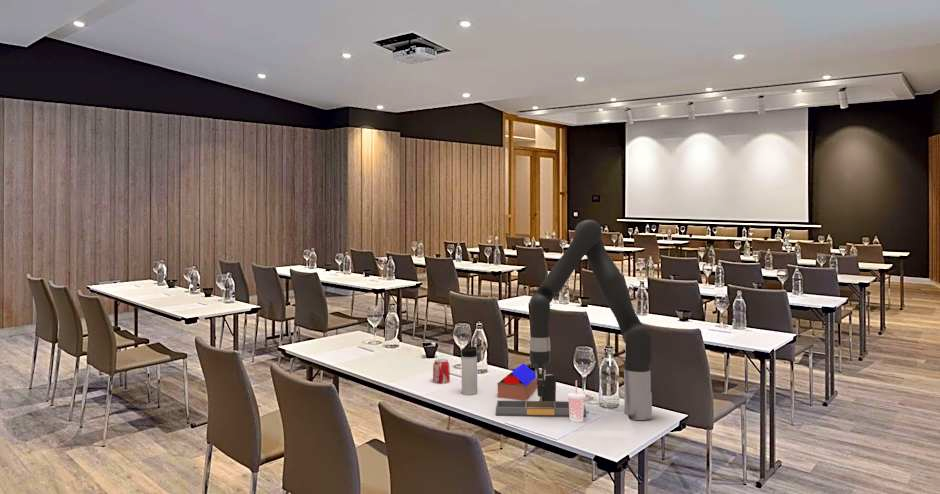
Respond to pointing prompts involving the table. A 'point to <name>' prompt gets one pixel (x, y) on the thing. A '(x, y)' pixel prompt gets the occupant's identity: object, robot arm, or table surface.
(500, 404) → the tray
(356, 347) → the table surface
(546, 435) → the table surface
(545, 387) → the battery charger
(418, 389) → the table surface
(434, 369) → the soda can
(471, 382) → the travel mug
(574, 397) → the beverage cup
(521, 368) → the house
